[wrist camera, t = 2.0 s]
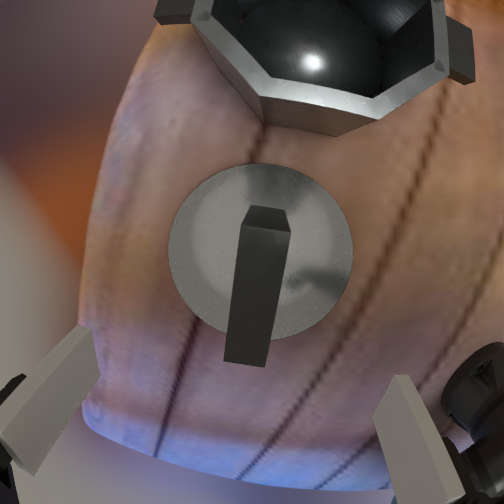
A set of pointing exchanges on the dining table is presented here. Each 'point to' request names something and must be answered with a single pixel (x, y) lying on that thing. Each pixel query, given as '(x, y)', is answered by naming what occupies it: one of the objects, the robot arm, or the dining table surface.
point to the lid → (259, 256)
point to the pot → (328, 55)
